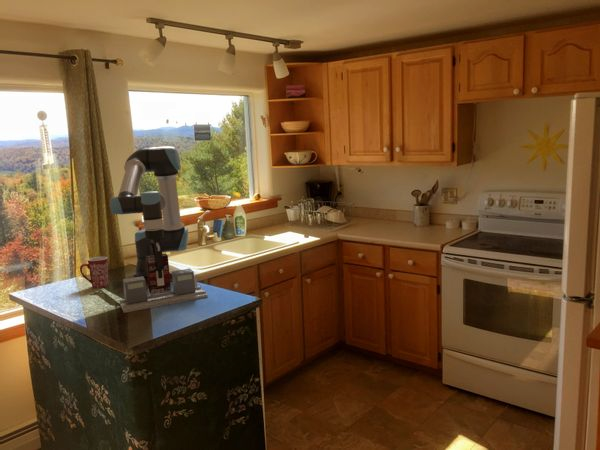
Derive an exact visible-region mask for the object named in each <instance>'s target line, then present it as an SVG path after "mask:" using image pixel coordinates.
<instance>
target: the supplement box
mask: <svg viewBox="0 0 600 450" xmlns="http://www.w3.org/2000/svg"><path fill="white" fill-rule="evenodd" d="M162 257H163V266H164V269H163V276H164V285H162V286H157V277H156V271H155V270H156V263H155V256H154V255H152V256H146V266H147V286H148V293H149V295H155V294H161V293H167V292H171V291H172V287H171V276H170V275H171V274H170V265H169V255H168V254H167V253H162Z"/></svg>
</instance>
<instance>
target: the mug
mask: <svg viewBox="0 0 600 450" xmlns="http://www.w3.org/2000/svg"><path fill="white" fill-rule="evenodd" d="M86 261H87V263H83V264H81V265H80V267H79V271H80V274H81V276H83V278H84V280H85V279H86V280H87V282H88V283H90V284H91V287H92V288H94V289H99V288H100V289H101V288H106V287H108V286H109V272H108V270H109V268H108V267H109V266H108V257H107V256H95V257H90V258H88V259H87V260H86ZM83 267H87V269H88V270H89V274H90V279H89V278H88V277H86V275H85V274H84V273H83Z"/></svg>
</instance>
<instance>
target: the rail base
mask: <svg viewBox="0 0 600 450" xmlns="http://www.w3.org/2000/svg"><path fill="white" fill-rule="evenodd" d="M194 275H195V272H194V270H193V269H191V268H185V269H180V270H179V269H178V270H173V271H172V270H171V278H172V289H173V290H171V292H167V293H161V294H155V295H150V294H149V295H148V294H147V293H148V292H147V284H146V278H145V277H143V276H141V277H140V276H135V277H129V278H123V279H122V285H123V293H124V299H121V300H119V306H120V307H121V309H122V312H123V313H124V314H125V313H130V312H136V311H139V310H146V309H150V308H156V307H162V306H168V305H172V304H177V303H182V302H183V303H184V302H188V301H193V300H194V299H195V300H199V299H198V298H200V299H205V298H208V294H207V293H206V290H203V289H202V288H201V285H200V286H198V285H197V287H195V281H194ZM204 297H205V298H204ZM195 300H194V301H195Z"/></svg>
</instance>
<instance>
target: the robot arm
mask: <svg viewBox="0 0 600 450" xmlns="http://www.w3.org/2000/svg"><path fill="white" fill-rule="evenodd" d="M123 168H124V175H123V178H122V181H121V185H120V188H119V191H118V195H117V196H113V197H110V200H109V209H110V212H111V214H113V215H130V214H142V219H143V222H142V225H143V226H144V227H143V229H140V230H138V231H136V232H135V233H134V243H135V252H136V263H135V264H136V265H135V269H134V275H135V277H141V276H143V277H144V278H145V277H147V266H146V256H152V255H154V256H155V263H156V270H155V271H156V277H157V286H162V285H164V276H163V269H164V266H163V257H162V254H163V253H172V252H182V251H186V250H187V249H188V241H189V229H188V228H187V227H185V223H183V222H182V220H181V219H182V218H181V212H180V211H181V210H180V203H179V195H178V187H177V178H176V177H177V176H178V174H179V171H181V168H182V167H181V160H180V155H179V152H178V150H177V149H176V147H174V146H157V147H155V146H154V147H143V148H139V149H138V150H136V151H134V152H132V154H130V155H129V156H128V157H127V158H126V161H125V163H124V166H123ZM145 173H153V175H154V177H155V178H156V179H157V182H158V190H159V191H156V190H151V191H143V192H142V193H141V194H140V195H138V192H139V188H140V185H141V180H142V176H144V174H145ZM147 278H148V277H147Z"/></svg>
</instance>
